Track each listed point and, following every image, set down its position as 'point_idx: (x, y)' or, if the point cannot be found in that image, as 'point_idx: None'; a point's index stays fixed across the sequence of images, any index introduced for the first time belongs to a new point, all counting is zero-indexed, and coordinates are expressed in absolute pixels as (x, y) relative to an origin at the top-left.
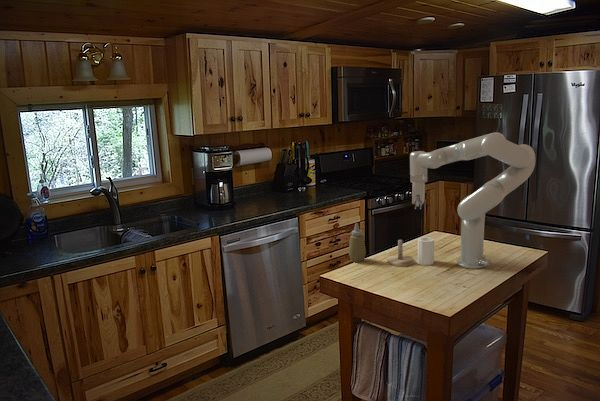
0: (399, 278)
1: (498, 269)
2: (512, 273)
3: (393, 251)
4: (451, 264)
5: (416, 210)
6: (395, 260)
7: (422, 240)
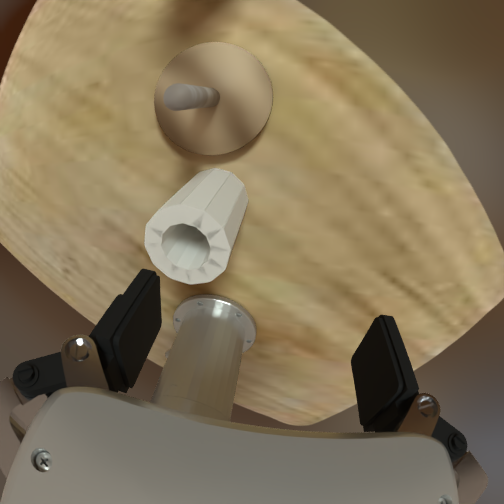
0: (64, 114)
1: None
2: None
3: (368, 80)
4: None
5: (92, 336)
6: (189, 78)
7: (161, 228)
